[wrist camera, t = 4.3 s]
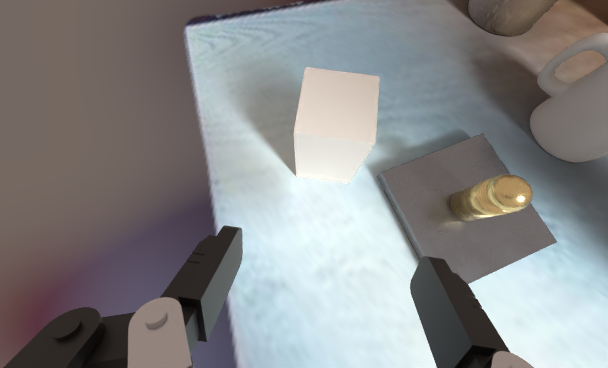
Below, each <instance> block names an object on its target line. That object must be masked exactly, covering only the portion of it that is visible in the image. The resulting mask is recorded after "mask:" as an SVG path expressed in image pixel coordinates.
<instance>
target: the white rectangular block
mask: <svg viewBox="0 0 608 368" xmlns="http://www.w3.org/2000/svg"><path fill="white" fill-rule="evenodd" d="M379 81H380V76H373V75H365V74H357V73H349V72H342V71H334V70H326V69H318V68H310V67H305V71H304V77H303V82H302V88H301V94H300V99H299V105H298V110H297V116H296V121H295V127H294V148H295V164H296V177H302V178H309V179H316V180H323V181H330V182H337V183H344V184H349V183H350V182H351V180H352V179H353V177H354V176H355V174H356V173H357V171H358V170H359V168H360V167H361V165H362V163H363V162H364V160H365V159H366V157H367V156H368V154H369V153H370V151H371V150H372V148H373V147H374V145H375V144H376V129H377V113H378V97H379Z"/></svg>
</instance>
